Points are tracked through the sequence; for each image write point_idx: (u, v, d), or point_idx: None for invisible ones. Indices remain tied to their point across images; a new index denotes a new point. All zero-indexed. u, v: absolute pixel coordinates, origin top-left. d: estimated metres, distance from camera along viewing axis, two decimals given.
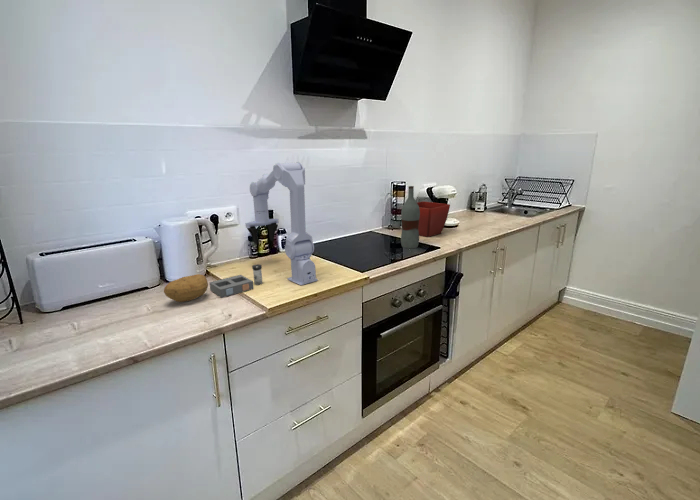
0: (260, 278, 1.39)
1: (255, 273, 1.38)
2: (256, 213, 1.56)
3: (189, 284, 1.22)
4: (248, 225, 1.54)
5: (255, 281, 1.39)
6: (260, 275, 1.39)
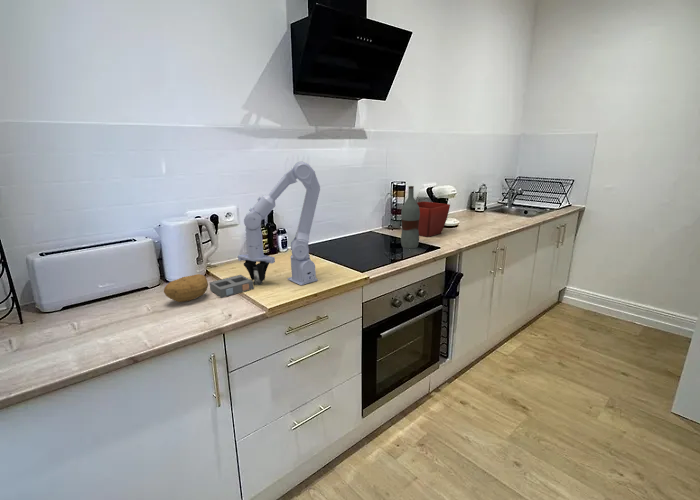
0: None
1: (255, 273, 1.38)
2: None
3: (189, 284, 1.22)
4: (238, 257, 1.39)
5: (255, 281, 1.39)
6: None
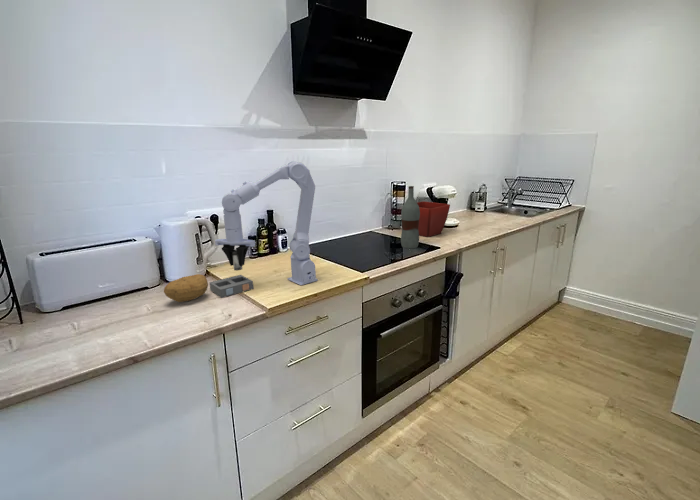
0: None
1: (234, 258, 1.32)
2: None
3: (189, 284, 1.22)
4: (216, 242, 1.33)
5: (235, 267, 1.33)
6: None
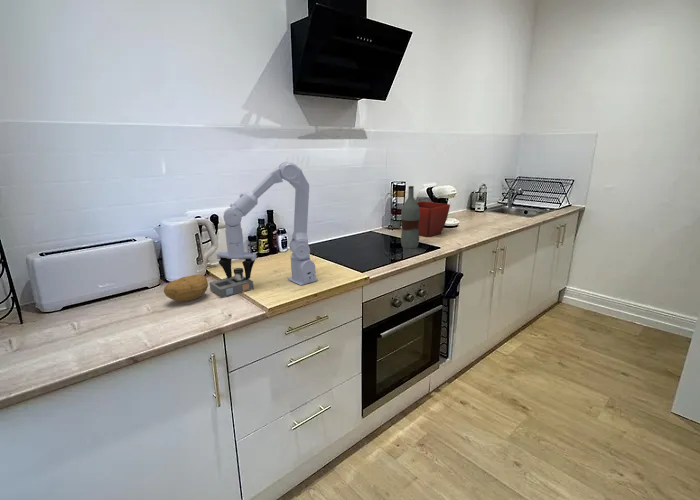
0: None
1: (237, 277, 1.34)
2: None
3: (189, 284, 1.22)
4: (217, 256, 1.34)
5: None
6: (242, 279, 1.35)
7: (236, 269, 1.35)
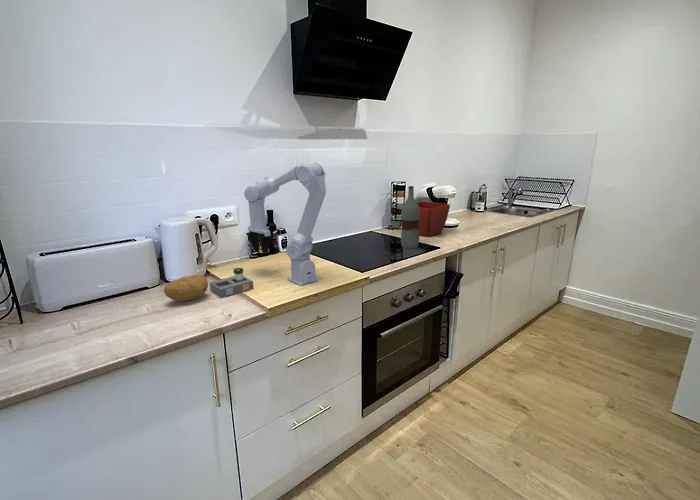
0: None
1: (237, 277, 1.34)
2: None
3: (189, 284, 1.22)
4: (248, 228, 1.50)
5: None
6: (242, 279, 1.35)
7: (236, 269, 1.35)
